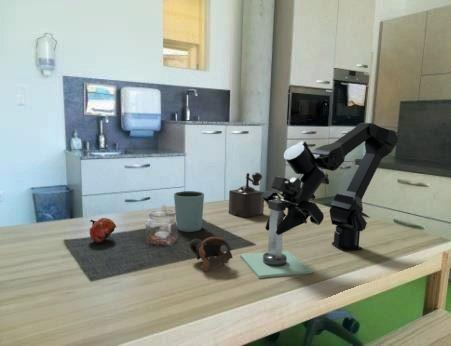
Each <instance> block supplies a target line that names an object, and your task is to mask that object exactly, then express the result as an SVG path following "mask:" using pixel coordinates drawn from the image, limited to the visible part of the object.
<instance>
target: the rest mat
mask: <svg viewBox="0 0 451 346" xmlns="http://www.w3.org/2000/svg"><path fill="white" fill-rule="evenodd" d="M265 253H268V251H267V252H254V253H243V254H240V253H239V257H240V259H242V261H243V262H244V263H245V264H246V266H247V267H248V268H249V269H250V270H251V271H252V272H253V273H254V274H255V276H256V277H257V279H263V278H275V277H283V276H293V275H295V276H296V275H305V274H312V273H313V270H312V269H311V268H310V267H308V266H307V265H306V264H305V263H303V262H302V261H301V260H299V258H297V256H294V255H293V254H292V253H290V252H289V251H288V250H282V254H284V255H286V257H287V260H286V265H284V266H280V267H273V266H269V265H266V264H264V263H263V255H264V254H265Z"/></svg>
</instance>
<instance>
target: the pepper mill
mask: <svg viewBox="0 0 451 346" xmlns="http://www.w3.org/2000/svg"><path fill="white" fill-rule="evenodd" d="M262 179H263V175H262V174H261V173H260V172H254V173H253V174H251V177H250V173H248V172H247V173H246V175H245V180H246V181H245V182H246V183H245V186H240V187H239V188H237V189H231V190H229V192H228V193H229V194H228V196H229V197H228V198H229V199H228V214H230V215H233V216H237V217H240V218H241V217H242V218H246V219H249V217H250V218H254V217H253V216H255V217H258V216H257V215H260V214H263V215H264V208H265V201H264V200H263V198H262V197H261V195H262V194H263V193H264V191H261V190H258V189H255V188H254V187H252V186H249V181H250V182H251V185H253V186H255V187H256V186H257V187H259V186H260V181H261V180H262ZM260 216H261V215H260Z"/></svg>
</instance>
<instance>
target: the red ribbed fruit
mask: <svg viewBox="0 0 451 346" xmlns="http://www.w3.org/2000/svg"><path fill="white" fill-rule="evenodd" d="M89 222H91V223H92V224H91V227H89V237H90V238H91V240H92V241H93V242H94V243H97V244H101V243H102V242H103V241H105V240H106V239H108V238H109V239H110V240H112V241H113V242H114V243H117V242H116V241H115V240H114V239H113V238H112V237H111V236H110V235H111V234H112V233H114V232H115V229H116V228H117V225H116V222H114V221H113V219H111V218H106V217H101V218H98V220H93V219H90V220H89Z"/></svg>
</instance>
